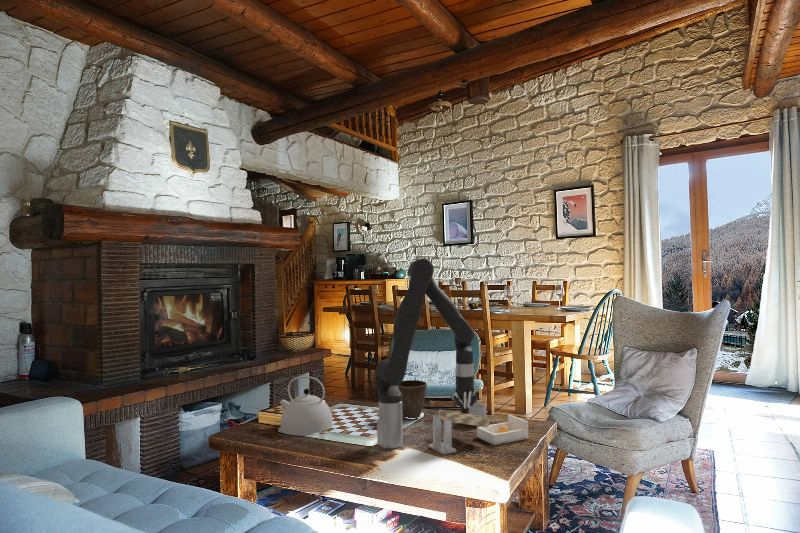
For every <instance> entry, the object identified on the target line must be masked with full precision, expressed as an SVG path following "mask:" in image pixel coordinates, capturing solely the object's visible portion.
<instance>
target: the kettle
mask: <svg viewBox="0 0 800 533" xmlns="http://www.w3.org/2000/svg"><path fill="white" fill-rule="evenodd" d="M299 379H312V380H314V381H316V382H317V383H319V384H320V386H321V389H322V397H321V398H320V397H318V396H316V395H311V394H310V392H311V391H310V389H309V388H305V389H303V394H304V395H299V396H297V397H295V398H294V399H293V397H292V396H291V392H290V389H291V384H293V382H294V381H295V380H299ZM287 395H288V397H289V399H290V402H289V401H288V400H285V399H282V400H279V403H280V404H281V405H282V406H283V408H284V409H283V412H282V415H281V420H280V431H281V432H282V434H283V433H284V434H286V435H291V436H311V435H310V434H313V433H316V432H320V431H324V430H327V429H329V428H331V427H332V426H333V427H334V422H333V421H334V420H333V419H334V418H333V414H332V410H331V409H330V407H329V405H328V404H327V402H325V401H324V398H325V396H326V391H325V387H324V385H323V383H322V382H321V381H320V380H319V379H318V378H316V377H313V376H310V375H309V376H308V375H304V376H303V375H302V376H301V375H300V376H296V377H294V378H292V379H291V380H290V381H289V383H288V385H287ZM333 427H332V428H333ZM313 435H314V434H313Z"/></svg>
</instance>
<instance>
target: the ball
mask: <svg viewBox="0 0 800 533" xmlns="http://www.w3.org/2000/svg"><path fill="white" fill-rule="evenodd" d="M498 431H499V433H504V432H508V428H507V427H506V426H500V427H499V430H498Z"/></svg>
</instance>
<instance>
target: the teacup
mask: <svg viewBox="0 0 800 533" xmlns="http://www.w3.org/2000/svg"><path fill="white" fill-rule="evenodd" d="M486 409H487V405H486V404H484V403H479V402H475V403H474V404H473V406H470V407H469V414H470V415H477V416H481V418H483V419H487V410H486Z"/></svg>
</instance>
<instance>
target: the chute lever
mask: <svg viewBox="0 0 800 533" xmlns="http://www.w3.org/2000/svg"><path fill="white" fill-rule="evenodd" d="M437 415H438V418H441V420H442V421H443V420H449V419H450V420H451V421H452V423H457V424H463V425H468V426H469V425H470V426H476V427H488V425H490V419H487V418H486V419H483V418H481V416H477V415H470V414H464V413H461V412H457V411H453V410H452V411H451V410H447V409H439V410H438V414H437Z"/></svg>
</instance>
